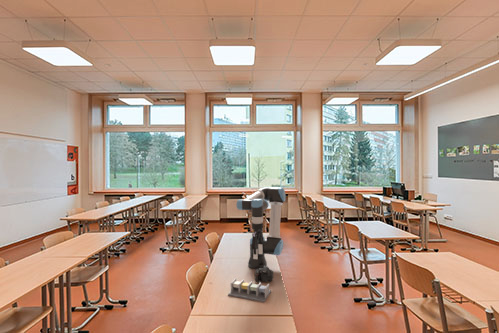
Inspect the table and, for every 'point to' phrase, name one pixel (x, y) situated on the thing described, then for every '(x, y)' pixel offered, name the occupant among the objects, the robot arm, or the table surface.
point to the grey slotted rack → (249, 292)
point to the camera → (263, 274)
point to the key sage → (253, 287)
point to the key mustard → (244, 285)
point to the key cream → (236, 284)
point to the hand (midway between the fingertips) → (258, 256)
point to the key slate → (262, 288)
